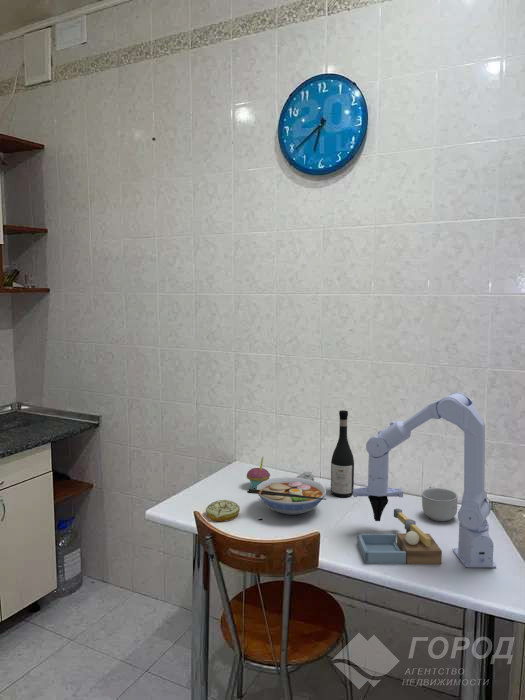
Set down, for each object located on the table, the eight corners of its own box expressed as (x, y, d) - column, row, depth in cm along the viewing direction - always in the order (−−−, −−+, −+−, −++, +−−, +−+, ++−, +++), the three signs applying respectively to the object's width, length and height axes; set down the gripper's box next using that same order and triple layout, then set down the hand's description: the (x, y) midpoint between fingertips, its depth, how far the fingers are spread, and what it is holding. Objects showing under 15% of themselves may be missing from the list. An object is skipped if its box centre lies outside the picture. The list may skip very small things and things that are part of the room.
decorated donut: (199, 515, 162) (199, 503, 162) (227, 506, 169) (227, 495, 168) (217, 526, 154) (217, 514, 153) (245, 516, 160) (245, 505, 160)
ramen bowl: (333, 501, 173) (334, 478, 172) (323, 530, 151) (324, 503, 150) (263, 494, 179) (263, 471, 179) (243, 520, 157) (243, 495, 157)
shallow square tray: (405, 563, 132) (406, 552, 131) (365, 563, 132) (365, 552, 131) (395, 544, 142) (395, 533, 142) (357, 543, 142) (357, 533, 142)
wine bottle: (351, 499, 175) (353, 414, 172) (328, 496, 177) (330, 412, 175) (354, 491, 182) (356, 409, 180) (332, 488, 185) (334, 407, 182)
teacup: (459, 526, 154) (460, 501, 153) (422, 523, 156) (423, 498, 155) (452, 508, 168) (453, 485, 167) (418, 505, 170) (418, 482, 169)
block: (441, 563, 132) (441, 549, 131) (406, 563, 132) (407, 548, 131) (426, 541, 144) (426, 527, 144) (394, 541, 144) (394, 527, 144)
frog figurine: (311, 494, 179) (311, 475, 178) (292, 491, 182) (292, 472, 181) (316, 489, 184) (317, 470, 184) (298, 486, 187) (299, 467, 187)
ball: (420, 547, 133) (421, 534, 133) (407, 547, 133) (407, 534, 133) (416, 541, 137) (417, 528, 136) (403, 541, 137) (404, 528, 136)
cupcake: (274, 485, 187) (274, 454, 186) (261, 493, 180) (261, 460, 179) (254, 481, 192) (254, 450, 191) (241, 488, 185) (242, 456, 184)
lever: (433, 545, 133) (433, 538, 132) (423, 546, 132) (423, 539, 132) (400, 514, 152) (400, 508, 152) (391, 515, 151) (391, 508, 151)
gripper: (399, 471, 153) (397, 514, 154) (351, 470, 153) (350, 514, 154) (405, 479, 146) (404, 524, 147) (355, 478, 146) (354, 524, 147)
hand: (377, 519), depth 150 cm, fingers closed
